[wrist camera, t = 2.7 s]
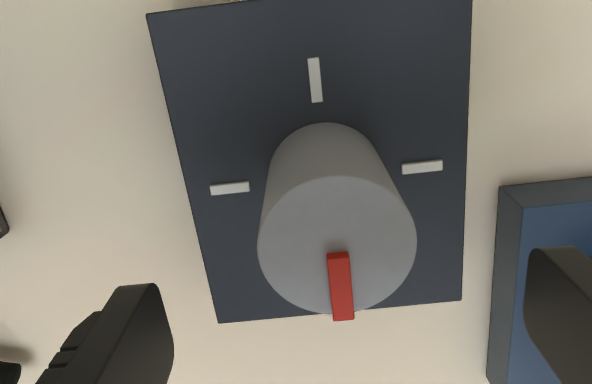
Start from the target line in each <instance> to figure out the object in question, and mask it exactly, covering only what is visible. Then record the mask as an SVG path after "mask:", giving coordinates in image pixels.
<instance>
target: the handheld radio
mask: <svg viewBox="0 0 592 384" xmlns="http://www.w3.org/2000/svg"><path fill="white" fill-rule="evenodd" d="M20 375H21V365H20V364H18V363H10V362H2V361H0V384H17V383H18V380H19V378H20Z"/></svg>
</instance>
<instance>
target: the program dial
mask: <svg viewBox="0 0 592 384" xmlns="http://www.w3.org/2000/svg"><path fill="white" fill-rule="evenodd" d="M416 250H417V234H416V229H415V225H414V222H413V219H412V217H411V214H410V212H409V211H408V209H407V207H406V205H405V203H404V201H403V200H402V198H401V196H400V194H399V192H398V190H397V188H396V187H395V185H394V183H393V181H392V179H391V177H390V176H389V174H388V172H387V170H386V168H385V166H384V164H383V163H382V161H381V159H380V157H379V155H378V153H377V152H376V150H375V148H374V147H373V145H372V144H371V143H370V141H369V140H368V139H367V138H366V137H365V136H364V135H362V134H361V133H360V132H358V131H357V130H355V129H353V128H351V127H348V126H346V125H343V124H338V123H330V122H324V123H315V124H311V125H307V126H304V127H302V128H300V129H298V130H296V131H295V132H293V133H291V134H290V135H289V136H288V137H286V138H285V139H284V140H283V141H282V143H281V144H280V145H279V146H278V148H277V149H276V151H275V153H274V155H273V157H272V159H271V162H270V166H269V172H268V178H267V184H266V190H265V196H264V202H263V208H262V214H261V220H260V226H259V233H258V239H257V254H258V260H259V264H260V267H261V269H262V272H263V274H264V276H265V278H266V279H267V281H268V282H269V284H270V285H271V286H272V287H273V289H274V290H275V291H276V292H277V293H278V294H279V295H280V296H282V297H283V298H284V299H286V300H287V301H289V302H290V303H292V304H294V305H296V306H298V307H300V308H303V309H305V310H309V311H312V312H317V313H322V314H333V321H343V320H353V319H354V318H355V317H354V312H356V311H360V310H363V309H366V308H369V307H371V306H373V305H375V304H377V303H379V302H381V301H382V300H384V299H385V298H387V297H388V296H389V295H391V294H392V293H393V292H394V291H395V290H396V289H397V288H398V287H399V286H400V285H401V284H402V282H403V281H404V280H405V278H406V277H407V275H408V273H409V271H410V270H411V268H412V265H413V262H414V259H415V255H416Z"/></svg>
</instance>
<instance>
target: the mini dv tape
mask: <svg viewBox="0 0 592 384" xmlns="http://www.w3.org/2000/svg"><path fill="white" fill-rule="evenodd" d="M8 232H9V227H8V224H7V222H6V219H5V217H4V215H3V212H2V210H1V207H0V238H2V237H3V236H4V235H6V234H7V233H8Z"/></svg>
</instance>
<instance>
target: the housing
mask: <svg viewBox="0 0 592 384" xmlns="http://www.w3.org/2000/svg"><path fill="white" fill-rule="evenodd" d="M567 245H573V246H576V247H577V248H579V249H580V250H581V251H582V252H583V253H584V254H586V255H587V256H588V257H589V258H590V259H591V260H592V177H585V178H576V179H567V180H557V181H548V182H539V183H529V184H520V185H511V186H501V187H500V188H499V202H498V216H497V231H496V245H495V260H494V274H493V289H492V303H491V318H490V332H489V346H488V361H487V375H486V377H487V379H488V381H489V383H490V384H562V383H561V382H560V381H559V379H558V378H557V376H556V375H555V373H554V372H553V371H552V369H551V368H550V366H549V365H548V363H547V362H546V361H545V359H544V358H543V356H542V355H541V353H540V352H539V350H538V349H537V348H536V346H535V345H534V343H533V342H532V340H531V339H530V337H529V335H528V333H527V330H526V327H525V324H524V319H523V302H524V293H525V283H526V274H527V265H528V257H529V254H530V252H531V251H532V250H533V249H535V248H545V247H556V246H567Z"/></svg>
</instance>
